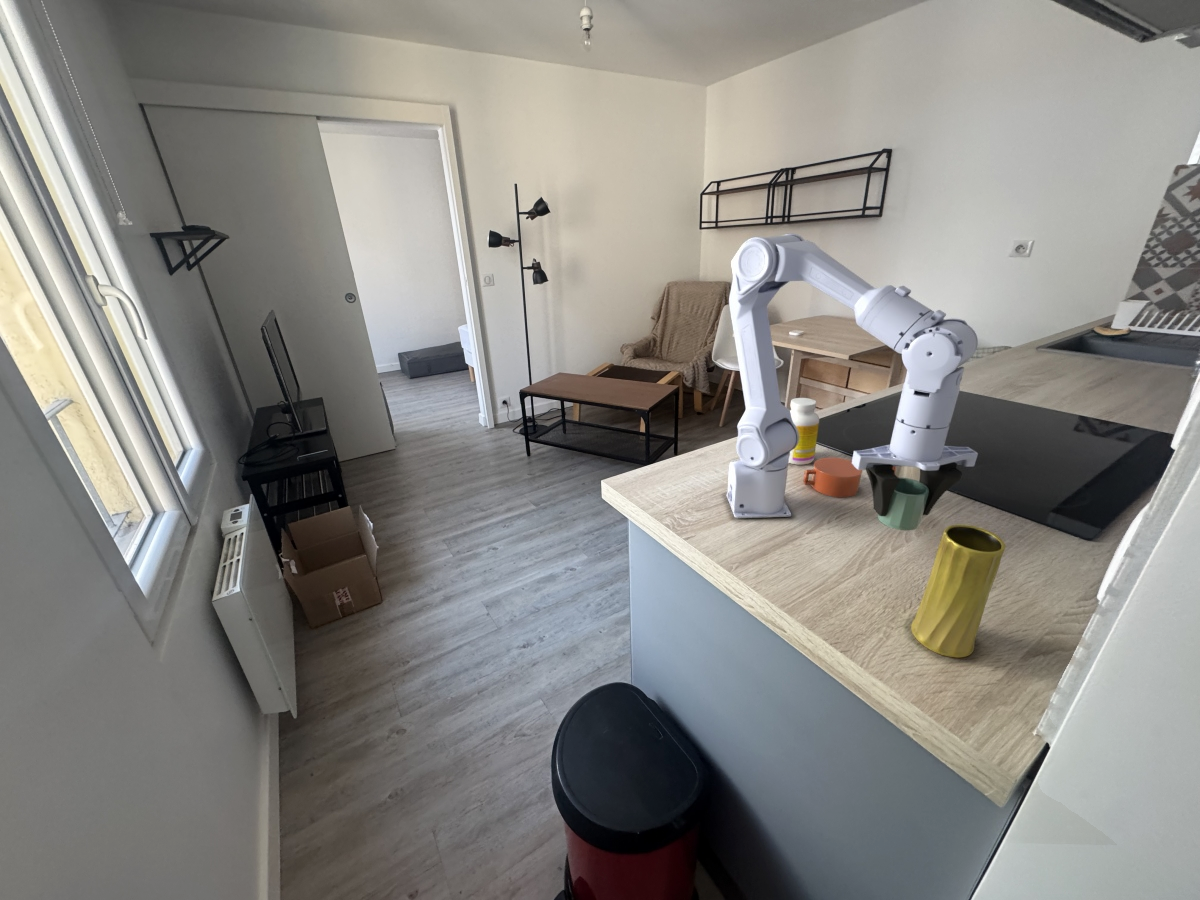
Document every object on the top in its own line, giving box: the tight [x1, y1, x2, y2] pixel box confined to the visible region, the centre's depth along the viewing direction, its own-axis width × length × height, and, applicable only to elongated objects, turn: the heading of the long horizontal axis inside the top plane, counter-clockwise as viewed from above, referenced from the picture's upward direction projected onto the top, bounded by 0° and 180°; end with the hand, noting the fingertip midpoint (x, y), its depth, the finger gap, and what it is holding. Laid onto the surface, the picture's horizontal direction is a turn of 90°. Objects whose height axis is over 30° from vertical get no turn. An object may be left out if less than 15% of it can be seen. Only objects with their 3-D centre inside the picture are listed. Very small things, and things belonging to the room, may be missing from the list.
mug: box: [802, 456, 863, 498], centre depth 87 cm, size 10×8×4 cm
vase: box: [910, 524, 1006, 659], centre depth 52 cm, size 6×6×14 cm
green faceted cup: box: [877, 477, 929, 532], centre depth 64 cm, size 5×5×6 cm
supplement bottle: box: [788, 397, 820, 466], centre depth 96 cm, size 7×7×13 cm
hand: (899, 511), depth 65 cm, fingers closed on green faceted cup, 5 cm apart
